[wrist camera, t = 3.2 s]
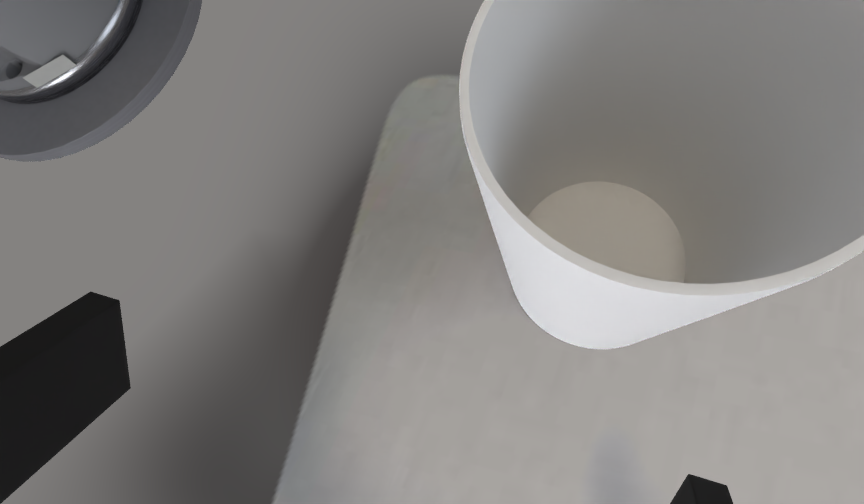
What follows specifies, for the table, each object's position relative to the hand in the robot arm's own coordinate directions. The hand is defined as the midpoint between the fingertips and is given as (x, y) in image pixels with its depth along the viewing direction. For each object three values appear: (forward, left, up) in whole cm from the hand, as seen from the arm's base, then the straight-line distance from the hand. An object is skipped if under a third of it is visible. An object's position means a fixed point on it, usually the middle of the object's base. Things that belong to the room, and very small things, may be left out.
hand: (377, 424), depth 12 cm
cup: (+1, +9, -13) cm, 16 cm away
